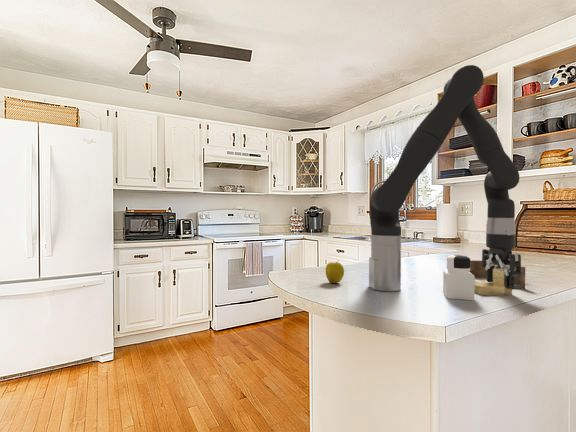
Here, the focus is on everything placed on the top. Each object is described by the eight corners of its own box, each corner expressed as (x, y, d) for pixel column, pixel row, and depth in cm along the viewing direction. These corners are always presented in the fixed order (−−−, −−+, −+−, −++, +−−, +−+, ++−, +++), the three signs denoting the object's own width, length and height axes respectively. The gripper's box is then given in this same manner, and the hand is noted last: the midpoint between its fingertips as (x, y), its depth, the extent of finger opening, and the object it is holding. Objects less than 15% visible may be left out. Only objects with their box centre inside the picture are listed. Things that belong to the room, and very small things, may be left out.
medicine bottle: (469, 294, 96) (469, 254, 96) (474, 301, 89) (475, 258, 89) (442, 292, 98) (443, 253, 98) (446, 298, 91) (446, 256, 91)
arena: (476, 288, 104) (477, 267, 104) (451, 279, 119) (452, 260, 119) (525, 288, 104) (525, 267, 104) (494, 279, 119) (494, 260, 119)
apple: (345, 285, 107) (345, 261, 107) (326, 285, 107) (326, 261, 107) (342, 281, 114) (342, 258, 114) (324, 281, 114) (324, 258, 114)
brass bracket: (479, 294, 96) (479, 271, 96) (469, 290, 101) (469, 268, 101) (511, 294, 97) (512, 271, 97) (500, 290, 102) (500, 268, 102)
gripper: (474, 231, 106) (473, 280, 106) (505, 234, 92) (504, 290, 92) (496, 231, 106) (495, 280, 106) (530, 234, 92) (529, 290, 92)
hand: (499, 285), depth 99 cm, fingers open, 8 cm apart
